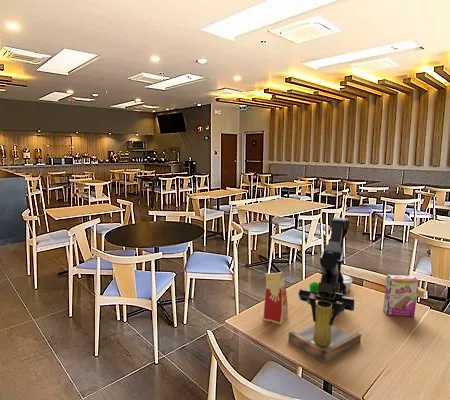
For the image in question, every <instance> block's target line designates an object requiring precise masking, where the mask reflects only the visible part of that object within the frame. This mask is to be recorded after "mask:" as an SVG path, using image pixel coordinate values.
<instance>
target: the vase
mask: <svg viewBox="0 0 450 400" xmlns="http://www.w3.org/2000/svg"><path fill="white" fill-rule="evenodd" d="M332 314H333V309H332V304H331V303H330V302H328V301H325V300H320V301H319V300H316V314H315V322H314V326H315V327H314V337H313V341H314V343H316V344H317V345H320V346H328V345H330V344H331V325H330V324H331V318H332Z"/></svg>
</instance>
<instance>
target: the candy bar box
mask: <svg viewBox="0 0 450 400" xmlns="http://www.w3.org/2000/svg"><path fill="white" fill-rule="evenodd" d="M419 283H420V281H419V279H418V278H416V277H415V275H401V274H400V275H398V274H386V281H385V290H384V299H383V308H382V310H383V312H384V313H385V315H386V316H393V317H394V316H395V317H409V318H411V317H412V318H414V317H415V314H416V313H415V312H416V306H417V298H418V290H419V285H420V284H419Z"/></svg>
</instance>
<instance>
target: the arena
mask: <svg viewBox="0 0 450 400" xmlns="http://www.w3.org/2000/svg"><path fill="white" fill-rule="evenodd" d="M314 327H315V325H313V326H311V327H308V328H306V329H304V330H302V331H299V332H296V331H294V330H292V329H291V330H289V331H288V340H289V342H291V343H292V344H294V345H295V346H297V347H299V348H300V349H301V350H303V351H304V352H306V353H307V354H309V355H311V356H312V357H313V358H315V359H316V360H318V361H319V362H321V363H323V364H327V363H328V362H330V361H332V360H333V359H335V358H336V357H338V356H340V355H342V354H344V353H346V352H347V351H349V350H351V349H352V348H355V347H356V346H358V345H360V344H361V338H362V334H361V333H359V332H357V331H356V332H355V333H353V334H349V333H348V332H347V331H344V330H342V329H340V328H338V327H336V326H335V325H334V324H332V326H331V344H330V345H328V346H320V345H317V344H316V343H314V341H313V337H314Z"/></svg>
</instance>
